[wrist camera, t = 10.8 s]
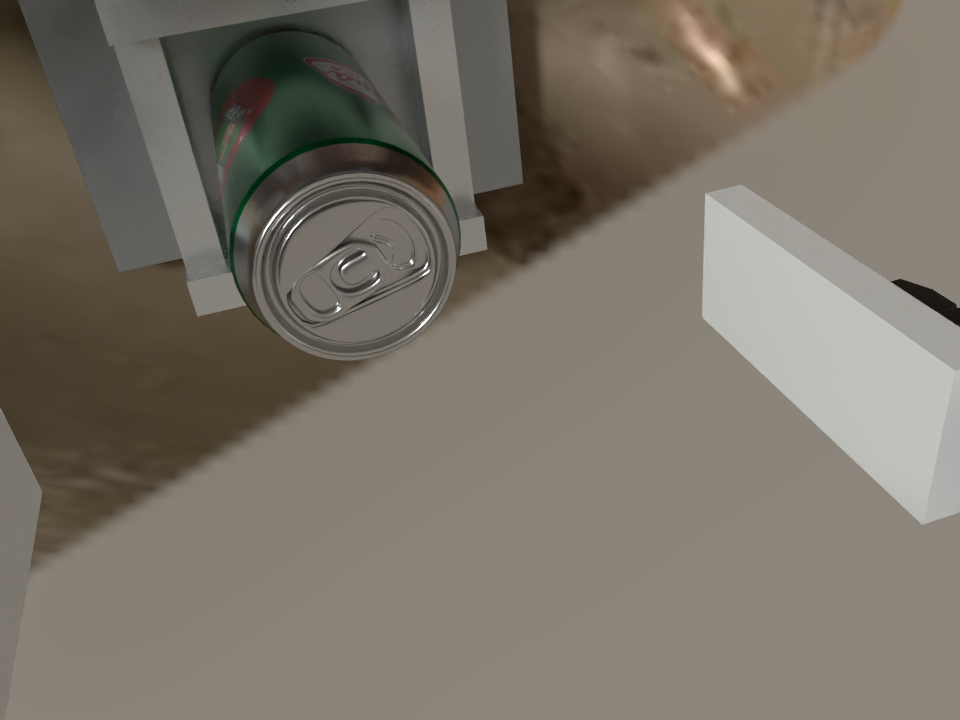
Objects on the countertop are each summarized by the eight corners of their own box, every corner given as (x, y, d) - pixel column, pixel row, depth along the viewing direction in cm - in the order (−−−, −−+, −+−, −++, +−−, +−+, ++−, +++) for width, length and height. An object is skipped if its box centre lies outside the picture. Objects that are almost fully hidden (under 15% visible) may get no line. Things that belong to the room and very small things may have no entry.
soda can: (401, 131, 30) (514, 293, 20) (274, 215, 30) (325, 415, 20) (313, -7, 27) (396, 104, 17) (174, 87, 27) (177, 249, 18)
